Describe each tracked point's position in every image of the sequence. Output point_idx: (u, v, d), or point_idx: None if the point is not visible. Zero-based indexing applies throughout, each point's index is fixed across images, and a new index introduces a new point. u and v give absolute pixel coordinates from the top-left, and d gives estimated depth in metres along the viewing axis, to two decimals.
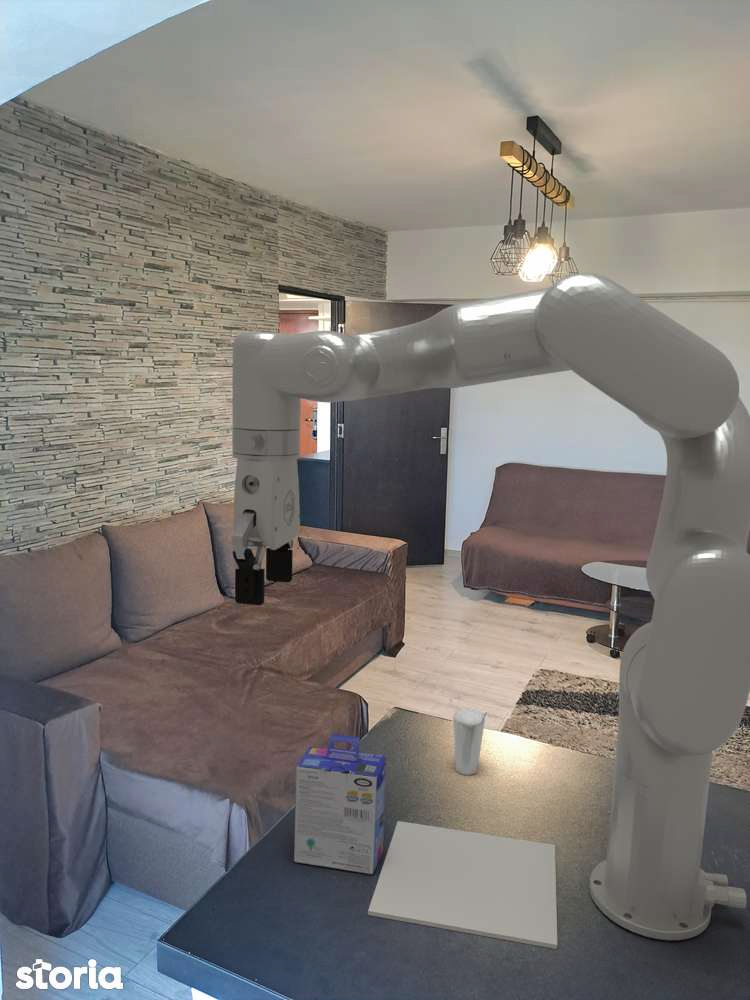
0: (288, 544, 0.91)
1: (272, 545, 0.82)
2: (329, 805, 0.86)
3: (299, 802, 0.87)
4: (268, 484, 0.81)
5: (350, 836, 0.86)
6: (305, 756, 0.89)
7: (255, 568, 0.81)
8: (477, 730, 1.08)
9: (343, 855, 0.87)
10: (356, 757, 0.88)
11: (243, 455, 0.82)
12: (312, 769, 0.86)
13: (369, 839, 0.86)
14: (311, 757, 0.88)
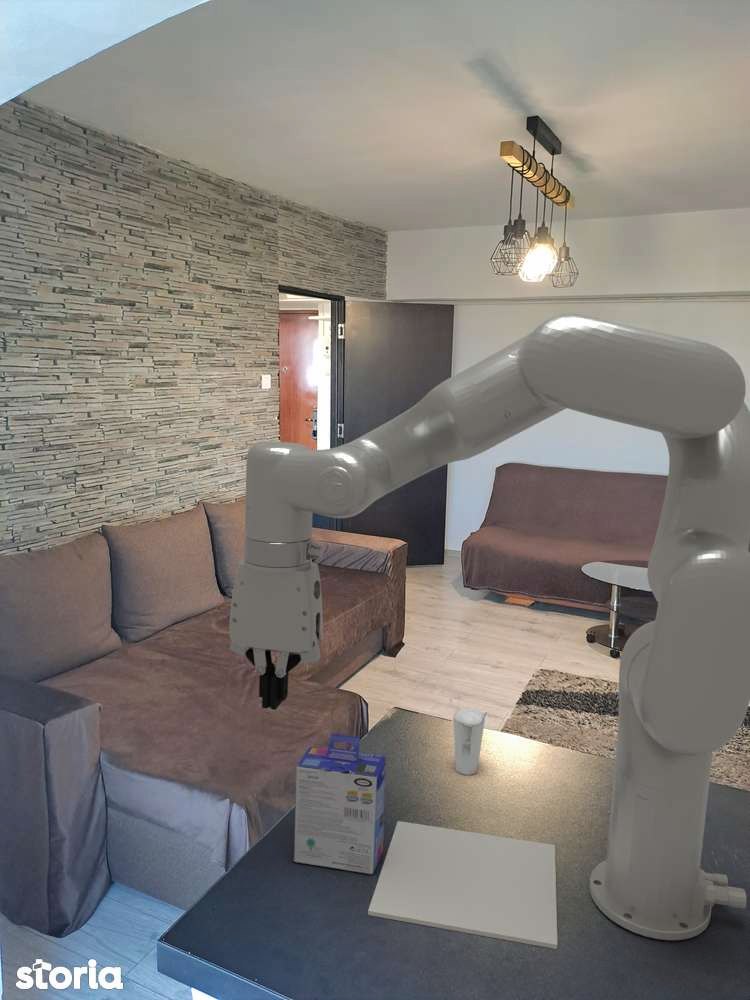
0: None
1: None
2: (329, 805, 0.86)
3: (299, 802, 0.87)
4: None
5: (350, 836, 0.86)
6: (305, 756, 0.89)
7: None
8: (477, 730, 1.08)
9: (343, 855, 0.87)
10: (356, 757, 0.88)
11: (303, 565, 0.84)
12: (312, 769, 0.86)
13: (369, 839, 0.86)
14: (311, 757, 0.88)
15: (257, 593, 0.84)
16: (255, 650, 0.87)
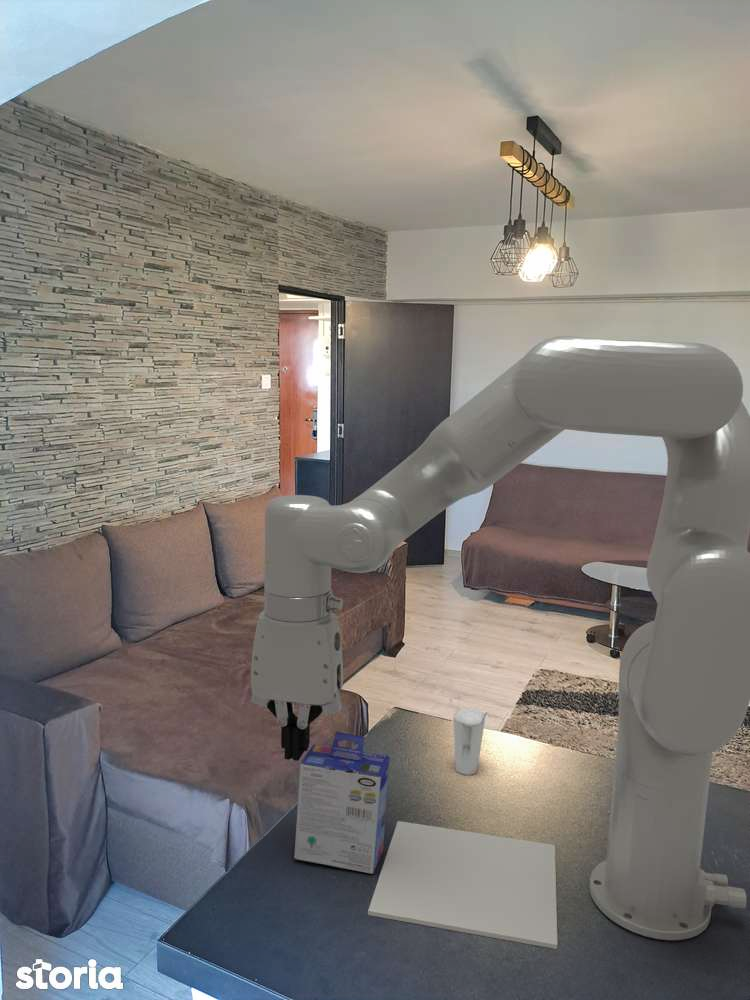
0: None
1: None
2: (332, 804, 0.86)
3: (301, 799, 0.87)
4: None
5: (351, 835, 0.86)
6: (309, 753, 0.89)
7: None
8: (477, 730, 1.08)
9: (344, 854, 0.87)
10: (360, 756, 0.88)
11: (323, 618, 0.84)
12: (316, 766, 0.86)
13: (370, 839, 0.86)
14: (315, 755, 0.88)
15: (278, 646, 0.85)
16: (277, 702, 0.87)
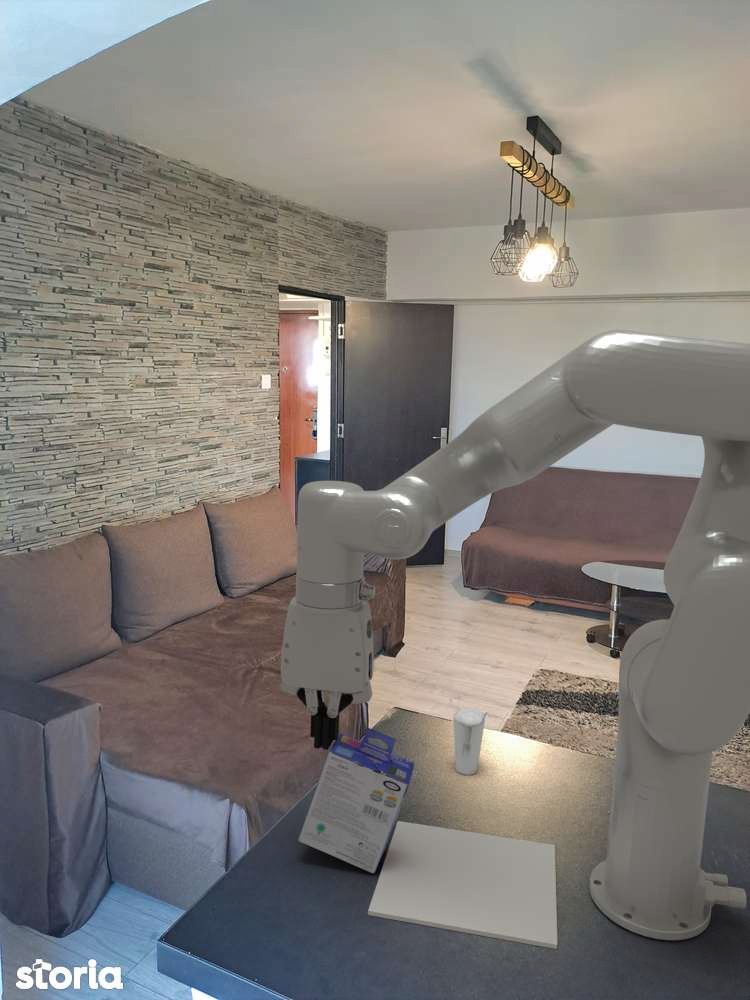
0: None
1: None
2: (351, 798, 0.86)
3: (321, 786, 0.86)
4: None
5: (362, 832, 0.86)
6: (337, 742, 0.88)
7: None
8: (477, 730, 1.08)
9: (350, 848, 0.87)
10: (388, 758, 0.87)
11: (356, 606, 0.83)
12: (344, 759, 0.85)
13: (381, 840, 0.86)
14: (343, 746, 0.87)
15: (310, 633, 0.84)
16: (307, 690, 0.86)
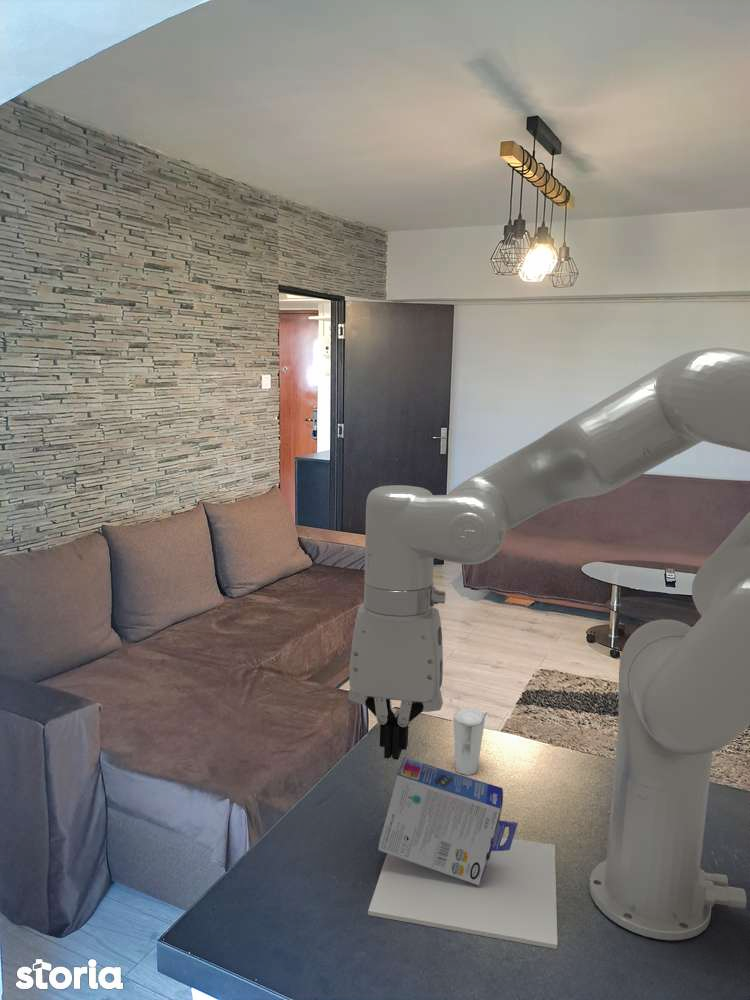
0: None
1: None
2: (453, 830, 0.84)
3: (461, 800, 0.83)
4: None
5: (419, 840, 0.85)
6: (502, 802, 0.85)
7: None
8: (477, 730, 1.08)
9: (399, 827, 0.85)
10: (492, 849, 0.86)
11: (427, 612, 0.82)
12: (495, 825, 0.83)
13: (414, 858, 0.85)
14: None
15: (380, 641, 0.82)
16: (376, 699, 0.84)
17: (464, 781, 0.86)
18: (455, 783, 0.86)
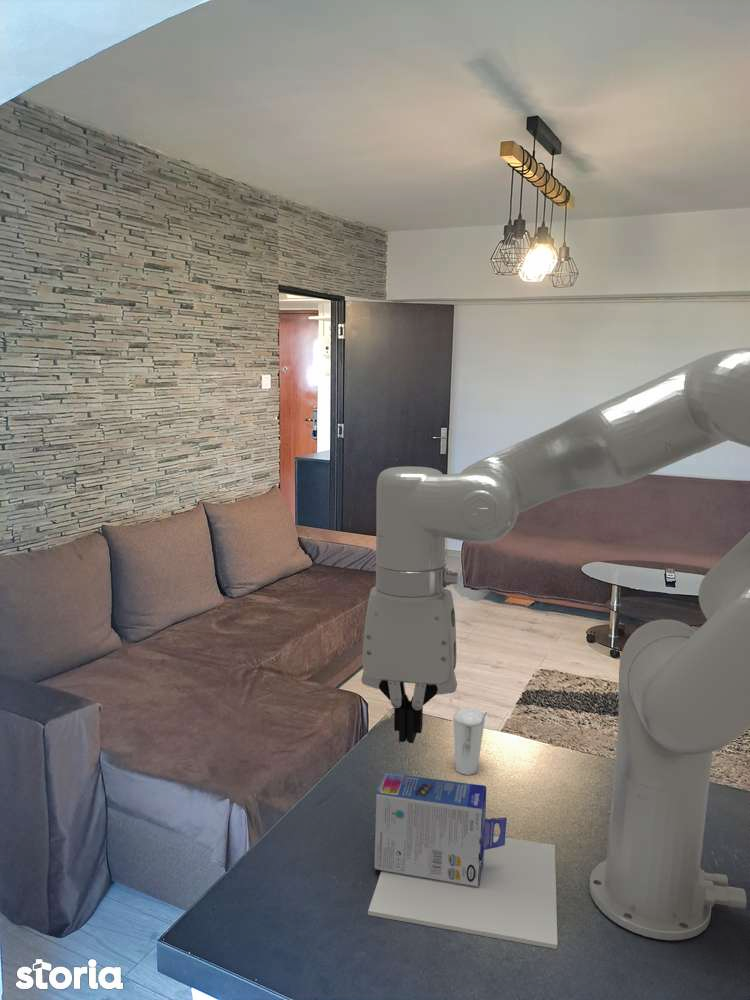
0: None
1: None
2: (442, 837, 0.84)
3: (442, 808, 0.83)
4: None
5: (411, 852, 0.85)
6: (485, 801, 0.84)
7: None
8: (477, 730, 1.08)
9: (389, 844, 0.85)
10: (487, 848, 0.86)
11: (439, 593, 0.81)
12: (480, 826, 0.83)
13: (410, 871, 0.85)
14: None
15: (393, 624, 0.82)
16: (390, 682, 0.84)
17: (446, 787, 0.86)
18: (436, 790, 0.85)
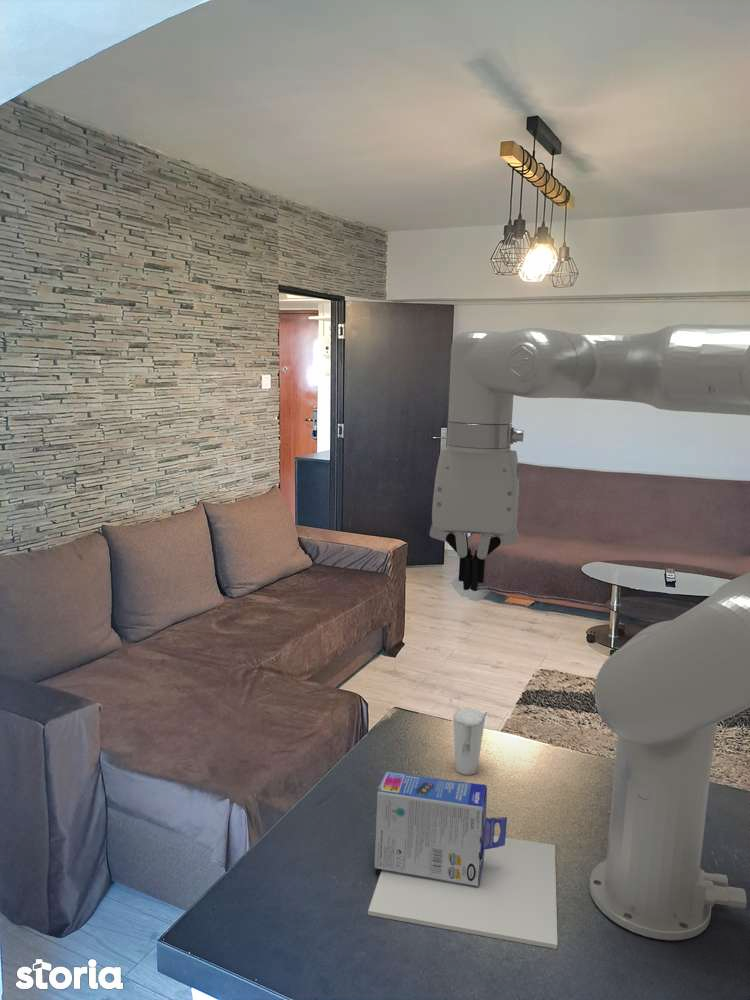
0: None
1: None
2: (442, 835, 0.84)
3: (443, 805, 0.83)
4: None
5: (411, 851, 0.85)
6: (486, 799, 0.85)
7: None
8: (477, 730, 1.08)
9: (390, 842, 0.86)
10: (487, 847, 0.86)
11: (507, 448, 0.88)
12: (481, 824, 0.83)
13: (411, 870, 0.85)
14: (485, 808, 0.85)
15: (463, 476, 0.89)
16: (457, 534, 0.91)
17: (446, 785, 0.87)
18: (437, 789, 0.86)
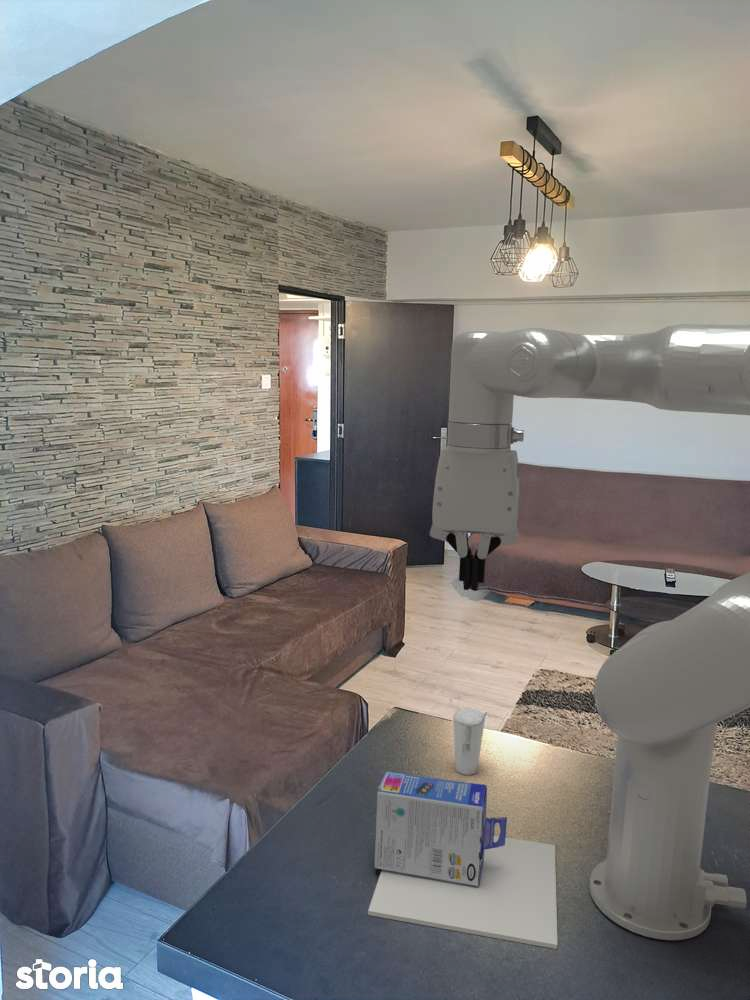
0: None
1: None
2: (442, 835, 0.84)
3: (443, 805, 0.83)
4: None
5: (411, 851, 0.85)
6: (486, 799, 0.85)
7: None
8: (477, 730, 1.08)
9: (390, 842, 0.86)
10: (487, 847, 0.86)
11: (507, 448, 0.88)
12: (481, 824, 0.83)
13: (411, 870, 0.85)
14: (485, 808, 0.85)
15: (464, 476, 0.89)
16: (457, 533, 0.91)
17: (446, 785, 0.87)
18: (437, 789, 0.86)
